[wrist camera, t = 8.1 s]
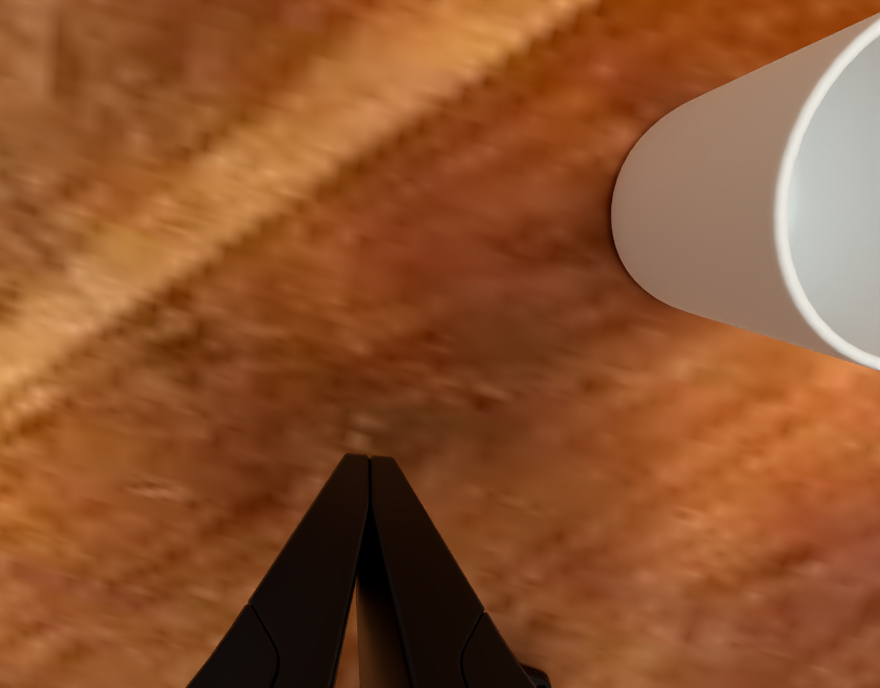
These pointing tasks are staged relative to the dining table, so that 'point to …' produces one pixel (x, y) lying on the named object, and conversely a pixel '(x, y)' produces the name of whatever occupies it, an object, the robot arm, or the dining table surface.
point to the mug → (768, 200)
